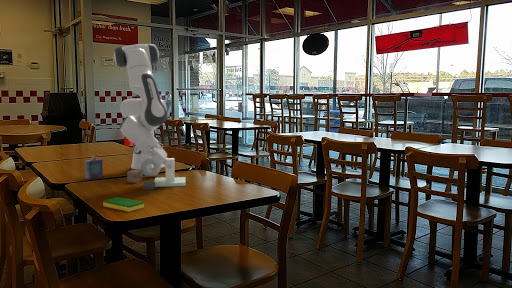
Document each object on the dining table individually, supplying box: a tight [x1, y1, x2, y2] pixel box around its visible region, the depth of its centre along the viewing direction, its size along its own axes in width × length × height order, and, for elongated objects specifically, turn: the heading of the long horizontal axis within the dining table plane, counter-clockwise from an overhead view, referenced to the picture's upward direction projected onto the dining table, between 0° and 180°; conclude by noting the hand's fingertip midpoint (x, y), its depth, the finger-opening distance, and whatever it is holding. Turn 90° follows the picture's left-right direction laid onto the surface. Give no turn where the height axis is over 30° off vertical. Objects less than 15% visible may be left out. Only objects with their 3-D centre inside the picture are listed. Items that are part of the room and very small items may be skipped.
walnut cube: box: [126, 169, 143, 184], centre depth 195 cm, size 5×5×5 cm
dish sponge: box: [102, 196, 145, 213], centre depth 149 cm, size 7×14×2 cm, turn 59°
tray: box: [154, 176, 186, 188], centre depth 191 cm, size 14×14×2 cm
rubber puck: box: [142, 180, 156, 191], centre depth 179 cm, size 5×5×3 cm
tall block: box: [164, 157, 176, 181], centre depth 191 cm, size 4×4×10 cm
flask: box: [84, 155, 104, 180], centre depth 202 cm, size 9×3×11 cm, turn 146°
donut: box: [140, 157, 162, 178], centre depth 207 cm, size 10×3×10 cm, turn 114°
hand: (171, 166), depth 191 cm, fingers open, 5 cm apart
